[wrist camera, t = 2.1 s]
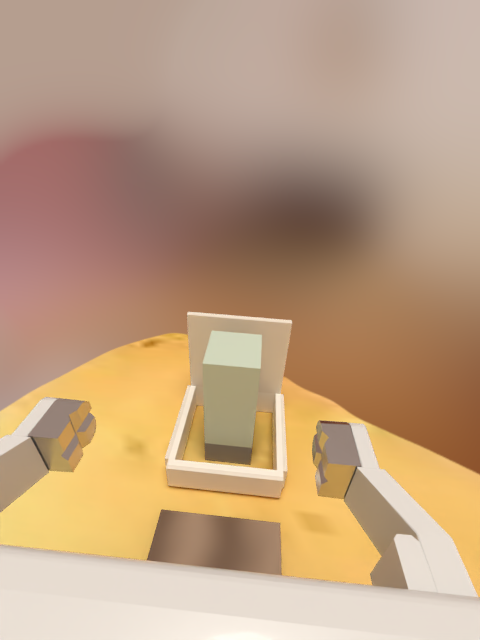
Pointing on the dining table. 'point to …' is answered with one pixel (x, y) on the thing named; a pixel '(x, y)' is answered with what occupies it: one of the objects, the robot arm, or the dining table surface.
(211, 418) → the sage box
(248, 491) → the white backed tray
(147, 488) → the dining table surface
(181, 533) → the walnut board
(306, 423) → the dining table surface
